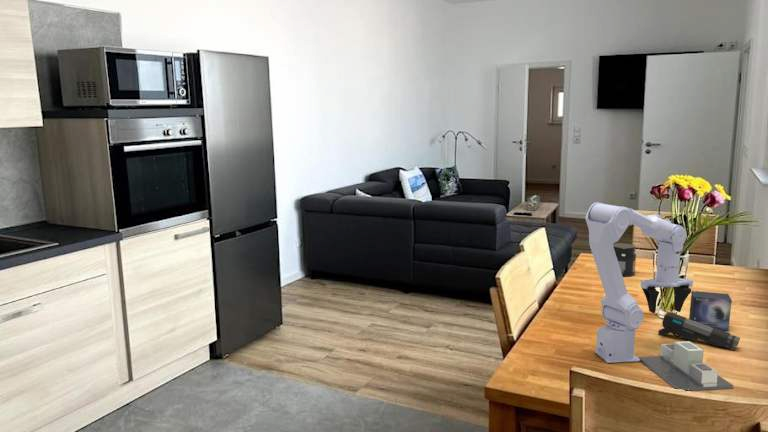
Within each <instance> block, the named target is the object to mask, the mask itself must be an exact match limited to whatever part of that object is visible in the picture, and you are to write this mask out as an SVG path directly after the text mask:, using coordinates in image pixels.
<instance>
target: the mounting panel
mask: <svg viewBox="0 0 768 432" xmlns="http://www.w3.org/2000/svg"><path fill="white" fill-rule="evenodd" d="M674 346H675V342H674V343H661V344H660V350H659V351H660V353H659V355H650V356H637V357H638V358H639V359H640V361H639V362H640V363H642V364H643V365H644V366H645V367H647V368H648V369H649V370H650V371H652V372H653V373H655V374H656V375H657V376H658V377H659V378H661V379H662V380H663V381H665V382H666V383H668V384H669V385H670V386H671V387H672V386H673V387H672V388H673V389H675V388H677V389H683V390H688V389H689V390H696V391H709V390H710V391H711V390H725V389H727V390H729V389H734V384H732V383H731V382H729V381H728V380H726V379H725V378H723V377H722V376H720V375H718V374H719V373H718V372H719V371H718V370H716V369H715V368H713V367H712V366H711V365H709V364H707V363H706V362H703V363H695V364H690V368H689V373H686V372H684V371H683V370H681V369H680V368H679V367H677V366H676V365H674V364H673V359H674Z"/></svg>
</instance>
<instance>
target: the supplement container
mask: <svg viewBox="0 0 768 432" xmlns="http://www.w3.org/2000/svg"><path fill="white" fill-rule="evenodd" d="M613 247H614V250H615V254H616V257H617V260H618V263H619V267H620V270H621V273H622V276H623V277H632V276H634V275H635V274H636V262H637V261H636V260H637V254H636V253H635V252H636V247H637V246H635V245H633V244H629V243H613Z"/></svg>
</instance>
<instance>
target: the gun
mask: <svg viewBox="0 0 768 432" xmlns="http://www.w3.org/2000/svg"><path fill="white" fill-rule="evenodd" d="M661 323H662V325H661V326H662V327H663V328H660V329H659V330H658V331H657V332H658V335H659V336H665V335H668V334H671V335H673V336H674V337H675V338H679V337H681V338H684V339H687V340H688V341H693V340H694V341H698V340H701V341H703V342H705V343H707V344H708V345H709V344H710V345H712V346H715V347H718V348H721V347H724V348H727V349H729V350H730V351H733V350H735V347H738V345H739V342H740V340H741V337H740V336H737V335H734V334H731V333H730V332H729V331H728V332H727V331H722V330H719V329H717V328H712V327H709V326H706V325H703V324H701V323H698V322H695V321H692V320H689V318H687V317H685V316H682V315H680V314H677V313H675V312H671V311H667V312H666V313H665V314H664V315H663V319H662V322H661Z"/></svg>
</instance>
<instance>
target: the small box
mask: <svg viewBox="0 0 768 432" xmlns="http://www.w3.org/2000/svg"><path fill="white" fill-rule="evenodd" d="M690 294H691V296H690V306H689V316H688V319H689V320H692V321H695V322H698V323H701V324H703V325H706V326H709V327H712V328H717V329H719V330H722V331H725V332H728V333H729V328H730V318H731V310H732V304H733V303H732V301H733V300H732V298H731V296H730V295H729V294H728V293H722V292H721V293H720V292H710V291H709V292H708V291H697V290H691V293H690Z"/></svg>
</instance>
